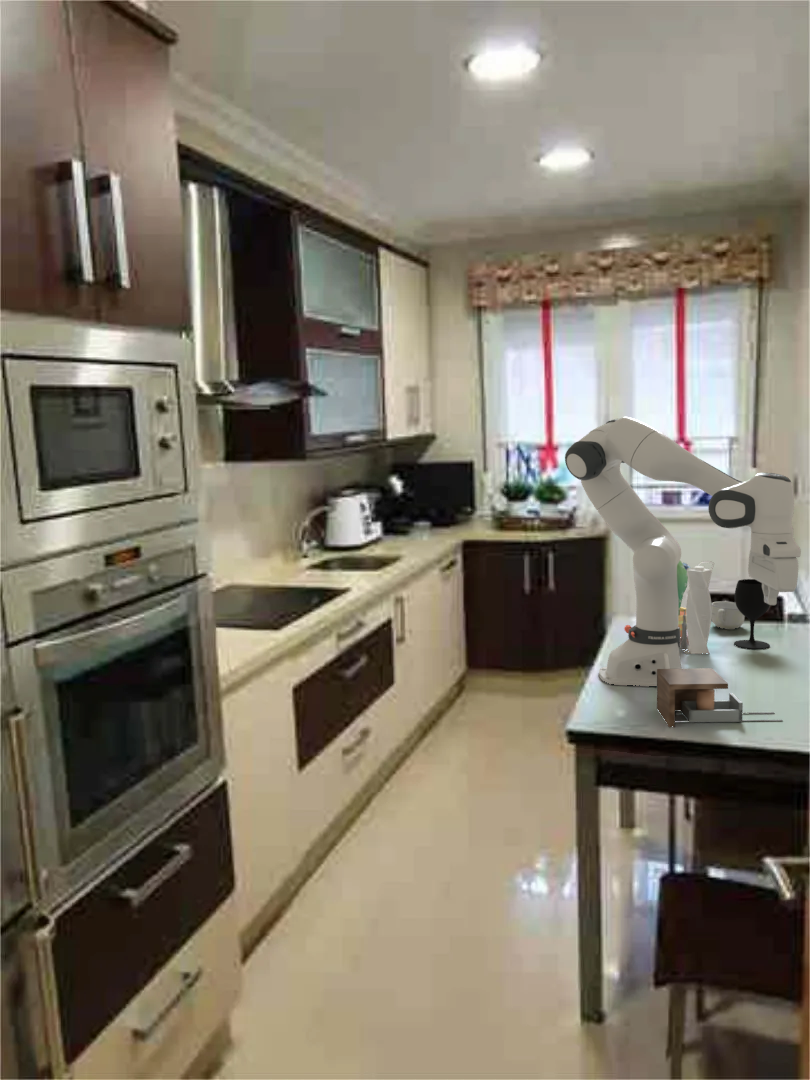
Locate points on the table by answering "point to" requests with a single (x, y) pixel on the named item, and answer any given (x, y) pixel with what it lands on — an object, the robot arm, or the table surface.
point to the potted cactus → (681, 590)
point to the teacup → (726, 615)
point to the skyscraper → (697, 611)
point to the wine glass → (751, 609)
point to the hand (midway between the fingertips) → (770, 603)
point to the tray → (714, 711)
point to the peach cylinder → (705, 699)
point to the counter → (686, 689)
